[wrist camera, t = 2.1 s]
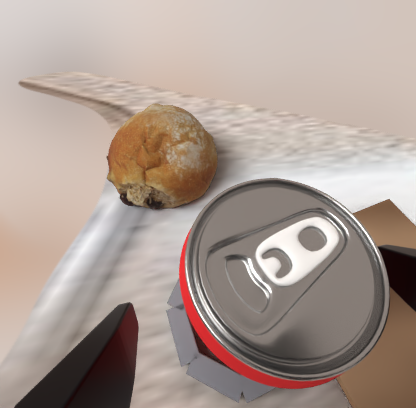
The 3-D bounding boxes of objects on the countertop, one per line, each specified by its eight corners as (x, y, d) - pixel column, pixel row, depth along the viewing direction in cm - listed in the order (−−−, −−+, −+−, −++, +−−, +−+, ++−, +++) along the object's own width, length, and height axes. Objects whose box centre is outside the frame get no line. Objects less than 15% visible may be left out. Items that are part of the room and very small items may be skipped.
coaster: (528, 352, 14) (540, 353, 13) (376, 451, 12) (384, 456, 11) (384, 202, 20) (389, 198, 19) (265, 250, 18) (267, 248, 17)
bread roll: (223, 203, 24) (255, 138, 19) (140, 241, 18) (156, 156, 13) (170, 154, 28) (185, 89, 23) (85, 170, 22) (81, 83, 16)
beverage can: (186, 296, 16) (140, 223, 6) (244, 259, 17) (291, 147, 7) (226, 372, 14) (265, 480, 3) (289, 323, 15) (456, 295, 5)
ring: (330, 353, 14) (338, 354, 13) (199, 423, 13) (197, 429, 12) (262, 232, 18) (264, 227, 18) (158, 273, 17) (155, 269, 16)
